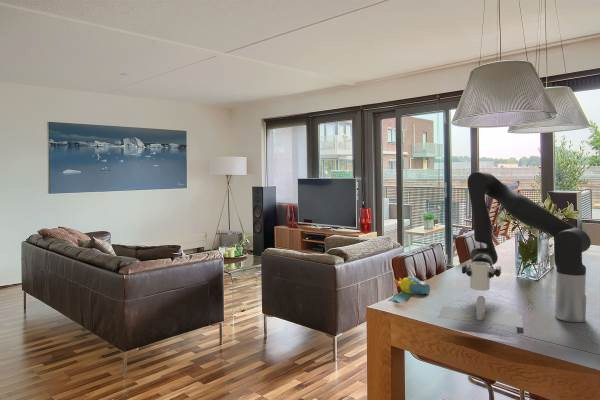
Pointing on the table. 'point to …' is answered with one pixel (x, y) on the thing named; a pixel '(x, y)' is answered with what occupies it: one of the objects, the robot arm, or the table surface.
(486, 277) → the keyed collar
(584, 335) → the table surface
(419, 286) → the blue and yellow toy
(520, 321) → the shaft board
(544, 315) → the table surface
